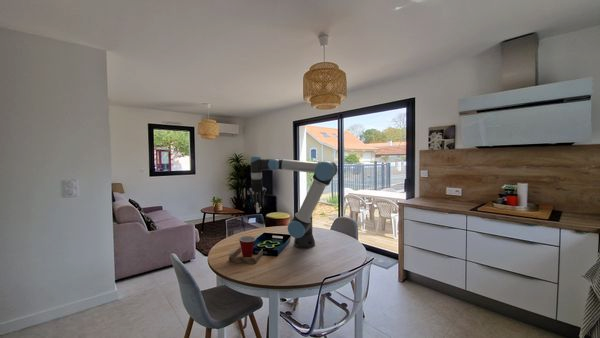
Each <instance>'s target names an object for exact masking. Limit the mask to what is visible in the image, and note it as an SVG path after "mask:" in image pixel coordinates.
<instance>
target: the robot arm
mask: <svg viewBox="0 0 600 338" xmlns="http://www.w3.org/2000/svg"><path fill="white" fill-rule="evenodd" d="M277 170H283V171H293V172H300V173H301V172H303V173H313V175H312V179H313V181H312V183H311V185H310V188H309V189H308V191H307V193H306V195H305V198H304V200H303V202H302V204H301V206H300V207H299V210H298V212H295V214H294V216H293V217H292V220H291V221H289V223H288V224H287V232H288V234H289V235H290V236H291V237H292V238H294V240H293V245H294V247H296V248H299V249H310V248H313V247H314V246H315V245H316V241H315V237H314V235H313V234H314V233H313V213H314V211H315V209H316V207H317V204H318V203H319V201H320V199H321V197H322V195H323V193H324V190H325V188H326V187H328V186H330V185H331V181H332V180H333V178H334V177H335V176H336V175H337V173H338V166H337V164H336V163H335V162H334V161H332V160H323V161H322V160H320V161H317V162H316V161H307V160H306V161H304V160H294V159H285V158H283V159H282V158H264V159H263V158H262V156H251V157H250V178H251V182H250V183H251V186H250V188H248V189H247V191H248V193H249V197H250V199H251V202H252V203H254V208H255V211H256V214H259V213H260V209H261V205H262V204H261V203H263V202H264V200H265V193H266V191H267V188H265V187H264V185H263V171H277ZM261 193H262V194H261Z"/></svg>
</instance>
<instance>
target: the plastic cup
mask: <svg viewBox="0 0 600 338" xmlns="http://www.w3.org/2000/svg"><path fill="white" fill-rule="evenodd" d="M256 240H257V238H256V237H255V236H250V235H245V236H240V237H238V241H239V244H240V247H241V253H242V257H249V258H253V257H252V256H253V251H254V247H255V243H256Z"/></svg>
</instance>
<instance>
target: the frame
mask: <svg viewBox="0 0 600 338" xmlns="http://www.w3.org/2000/svg"><path fill="white" fill-rule="evenodd" d="M240 253H242V251H241V246H239V247H238V248H237V249H236V250H235V252H234V253H233V254H232V255H229V256H228V262H229V263H243V264H257V263H258V261H259V260H260V259H261V258H262V256H263V255H264V254H263V249H261V250H259V252H258V253H257V254H256V256H255V257H250V258H249V257H243V256H238V255H240Z"/></svg>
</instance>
